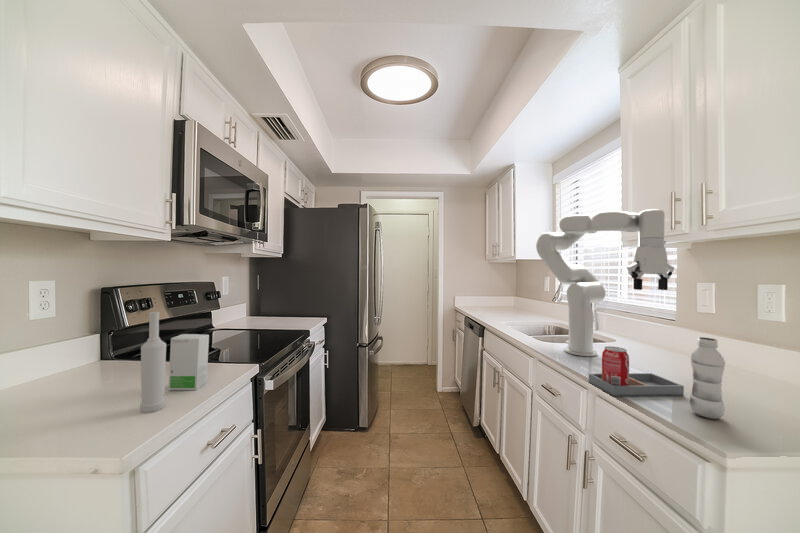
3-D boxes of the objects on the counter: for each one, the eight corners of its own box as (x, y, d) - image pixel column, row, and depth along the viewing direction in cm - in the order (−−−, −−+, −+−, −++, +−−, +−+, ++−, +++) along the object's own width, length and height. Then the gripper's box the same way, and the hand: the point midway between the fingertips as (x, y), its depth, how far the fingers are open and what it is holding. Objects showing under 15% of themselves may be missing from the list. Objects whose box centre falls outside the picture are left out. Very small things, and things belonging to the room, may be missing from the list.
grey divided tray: (588, 382, 103) (588, 373, 103) (651, 382, 104) (651, 373, 104) (613, 396, 92) (613, 386, 92) (683, 396, 93) (683, 386, 93)
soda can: (620, 383, 101) (621, 346, 101) (634, 391, 94) (634, 352, 94) (597, 382, 102) (597, 345, 102) (608, 390, 95) (609, 351, 95)
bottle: (140, 407, 81) (142, 311, 81) (165, 402, 84) (166, 310, 84) (139, 415, 77) (140, 314, 77) (165, 409, 80) (166, 312, 80)
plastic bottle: (716, 413, 82) (717, 337, 82) (730, 425, 76) (731, 343, 76) (684, 408, 85) (685, 335, 85) (696, 419, 78) (697, 340, 78)
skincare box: (167, 391, 92) (168, 338, 92) (180, 382, 98) (181, 333, 98) (197, 390, 93) (198, 338, 93) (208, 382, 99) (209, 333, 99)
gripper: (664, 244, 119) (663, 289, 119) (620, 243, 118) (620, 288, 118) (682, 243, 112) (682, 290, 112) (636, 242, 111) (636, 290, 111)
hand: (650, 289), depth 115 cm, fingers open, 9 cm apart
